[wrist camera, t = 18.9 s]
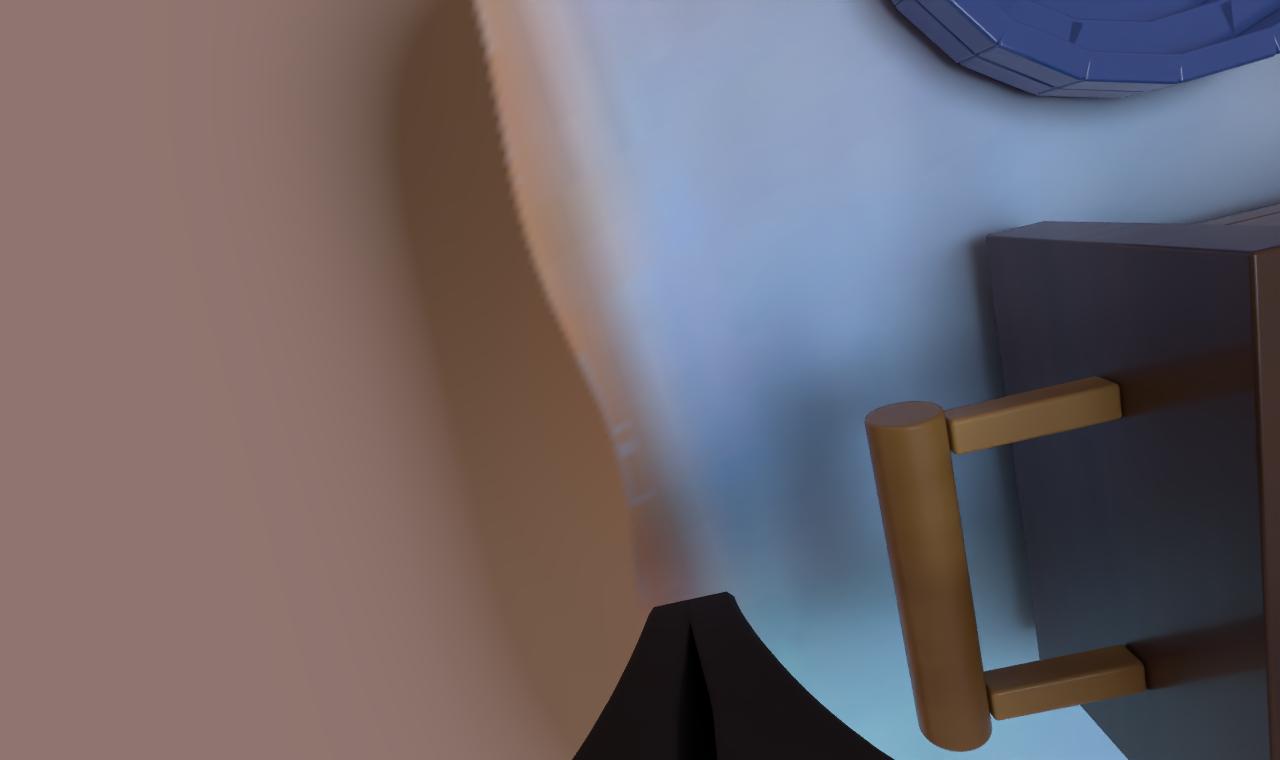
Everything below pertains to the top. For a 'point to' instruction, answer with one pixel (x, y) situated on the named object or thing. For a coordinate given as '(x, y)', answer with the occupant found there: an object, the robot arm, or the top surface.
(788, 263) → the top surface
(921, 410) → the drawer
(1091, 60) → the blue saucer
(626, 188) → the top surface
